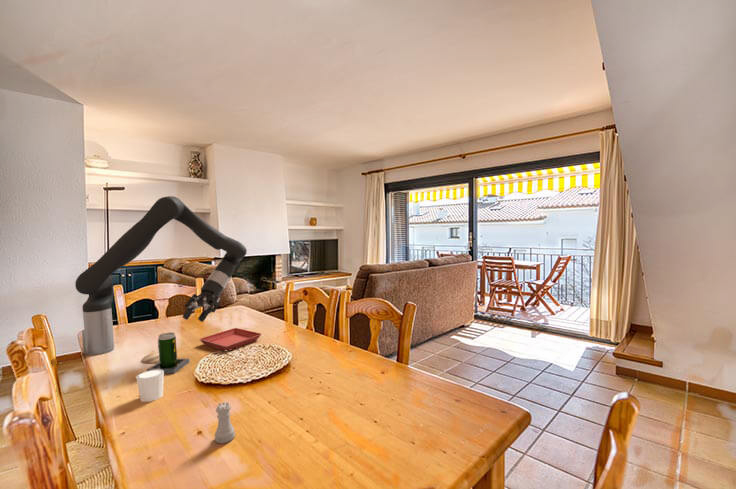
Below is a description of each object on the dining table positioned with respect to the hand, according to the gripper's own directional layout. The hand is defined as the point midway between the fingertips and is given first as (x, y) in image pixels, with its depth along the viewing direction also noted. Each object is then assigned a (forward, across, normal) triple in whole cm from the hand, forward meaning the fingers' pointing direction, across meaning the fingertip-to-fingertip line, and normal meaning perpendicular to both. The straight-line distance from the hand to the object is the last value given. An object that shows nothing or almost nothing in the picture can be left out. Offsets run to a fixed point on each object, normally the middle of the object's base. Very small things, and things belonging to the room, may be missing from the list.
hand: (192, 319), depth 133 cm
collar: (+18, 0, +3) cm, 18 cm away
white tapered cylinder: (+29, +16, -8) cm, 34 cm away
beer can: (+18, 0, +3) cm, 18 cm away
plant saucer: (-2, 0, +23) cm, 23 cm away
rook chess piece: (+34, +52, -13) cm, 63 cm away
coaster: (+14, -13, +7) cm, 20 cm away
